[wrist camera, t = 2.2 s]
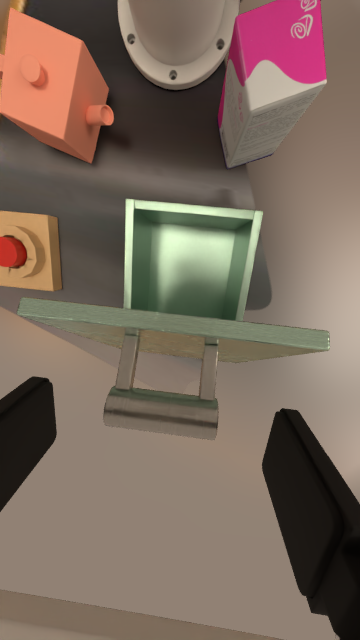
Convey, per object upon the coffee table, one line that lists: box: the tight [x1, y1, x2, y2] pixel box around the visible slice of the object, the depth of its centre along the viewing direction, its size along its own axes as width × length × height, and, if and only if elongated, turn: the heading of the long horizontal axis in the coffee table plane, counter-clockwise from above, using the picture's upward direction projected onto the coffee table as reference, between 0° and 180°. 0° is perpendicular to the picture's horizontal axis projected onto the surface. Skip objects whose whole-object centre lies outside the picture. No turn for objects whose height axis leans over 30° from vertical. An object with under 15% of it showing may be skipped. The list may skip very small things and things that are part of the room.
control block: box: [0, 211, 62, 291], centre depth 30 cm, size 10×8×4 cm
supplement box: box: [217, 0, 327, 170], centre depth 21 cm, size 6×6×12 cm
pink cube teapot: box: [0, 8, 114, 164], centre depth 23 cm, size 8×12×8 cm, turn 68°
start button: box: [0, 237, 27, 267], centre depth 28 cm, size 4×4×2 cm
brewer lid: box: [17, 297, 330, 440], centre depth 16 cm, size 15×13×5 cm
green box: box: [124, 199, 263, 321], centre depth 27 cm, size 15×13×10 cm
